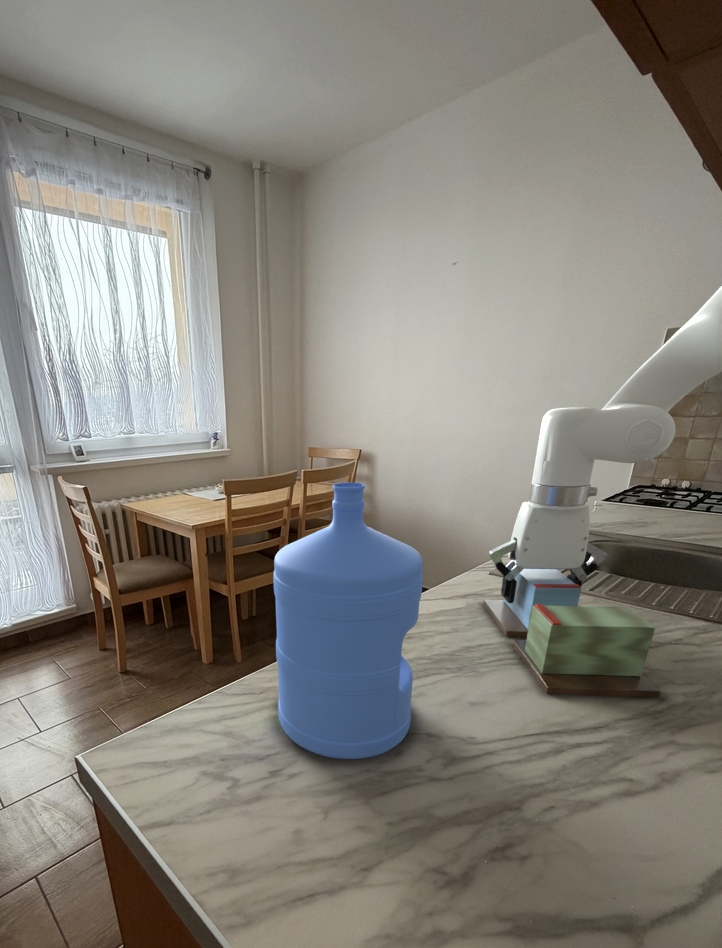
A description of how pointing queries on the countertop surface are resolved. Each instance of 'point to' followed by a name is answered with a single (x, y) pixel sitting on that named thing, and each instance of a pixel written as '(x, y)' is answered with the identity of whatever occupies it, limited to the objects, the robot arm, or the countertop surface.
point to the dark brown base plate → (505, 618)
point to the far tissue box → (542, 592)
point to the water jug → (345, 634)
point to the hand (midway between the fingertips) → (538, 600)
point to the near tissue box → (588, 640)
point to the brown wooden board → (588, 681)
